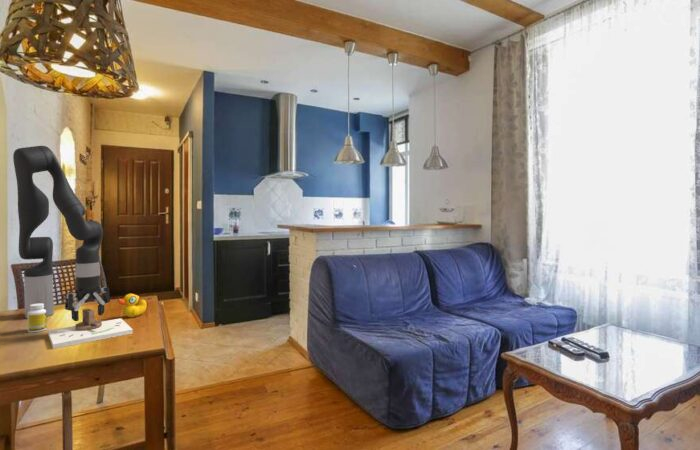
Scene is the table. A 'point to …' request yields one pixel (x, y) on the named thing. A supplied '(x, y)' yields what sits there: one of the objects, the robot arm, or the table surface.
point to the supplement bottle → (37, 318)
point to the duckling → (132, 305)
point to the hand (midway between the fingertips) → (88, 317)
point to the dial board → (88, 333)
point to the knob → (88, 321)
